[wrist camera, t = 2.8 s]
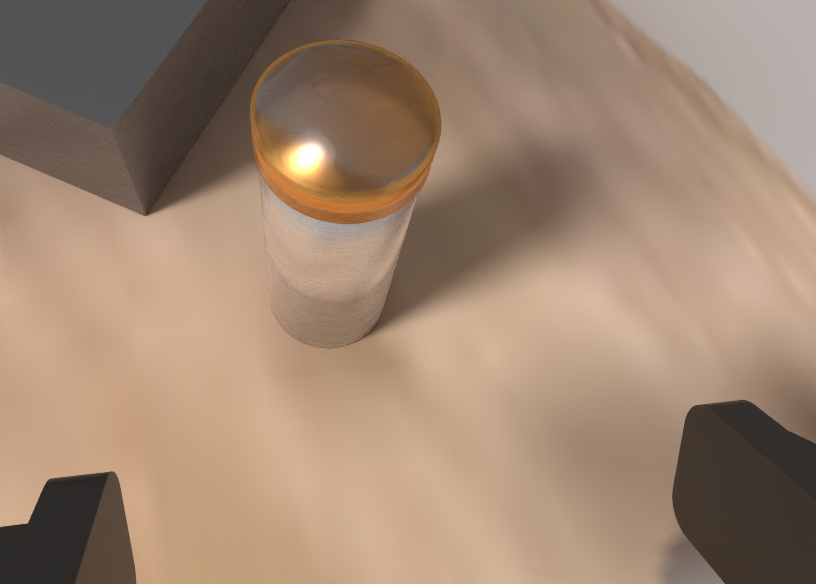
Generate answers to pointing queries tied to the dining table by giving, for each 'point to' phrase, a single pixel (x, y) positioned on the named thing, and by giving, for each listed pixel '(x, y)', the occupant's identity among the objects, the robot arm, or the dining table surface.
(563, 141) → the dining table surface
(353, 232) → the pin
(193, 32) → the block
